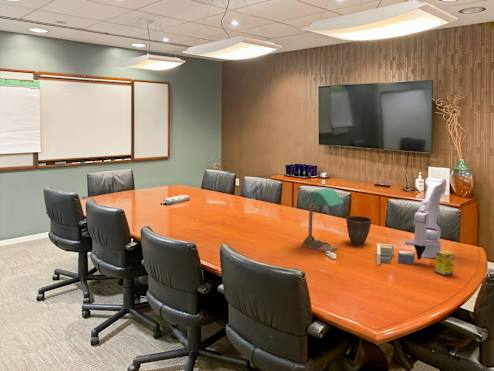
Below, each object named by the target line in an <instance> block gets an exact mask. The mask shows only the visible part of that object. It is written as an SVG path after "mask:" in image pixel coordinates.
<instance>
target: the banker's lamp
mask: <svg viewBox="0 0 494 371" xmlns="http://www.w3.org/2000/svg"><path fill="white" fill-rule="evenodd" d="M307 203H308V208H310V210H309V212H308V215H309V216H308V235H307V236H306V238H305V239H304V240H303V241H302V244H301V246H302V247H305V248H308V249H312V250H317V251H320V252H323V251H330V252H331V253H333V252H335V251H338V246H336V247H335V246H331V245H327V244H325V243H324V242H323V241H321V240H319V239H315V236H313V213H314V210H315V209H318V208H320V207H322V206H325V207H333V206H337V205H340V204H344V201H343V200H342V199H341V197H340V196H339V194H338V193H337V192H336V191H335V189H331V188H322V189H317V190H312V191H311V192H310V193H309V197H308V201H307ZM313 204H315V206H313V207H312V205H313Z"/></svg>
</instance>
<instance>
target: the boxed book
mask: <svg viewBox="0 0 494 371" xmlns="http://www.w3.org/2000/svg"><path fill="white" fill-rule="evenodd" d="M415 256H416V255H415V252H414V251H406V250H398V251H397V262H398V263H399V264H405V263H409V264H408V265H415V259H416V258H415ZM398 263H397V264H398Z"/></svg>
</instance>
